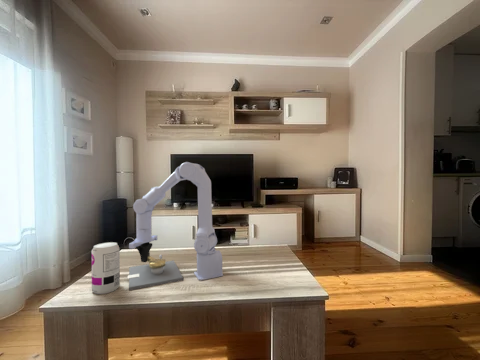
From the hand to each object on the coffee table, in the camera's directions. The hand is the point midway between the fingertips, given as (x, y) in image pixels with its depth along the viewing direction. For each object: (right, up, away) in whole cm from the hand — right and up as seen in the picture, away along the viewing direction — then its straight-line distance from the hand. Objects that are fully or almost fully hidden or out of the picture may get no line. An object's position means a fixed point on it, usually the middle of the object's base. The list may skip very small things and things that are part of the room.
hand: (144, 261), depth 95 cm
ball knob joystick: (+4, 0, -1) cm, 4 cm away
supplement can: (-6, -4, -16) cm, 18 cm away
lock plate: (+5, -4, -4) cm, 8 cm away
